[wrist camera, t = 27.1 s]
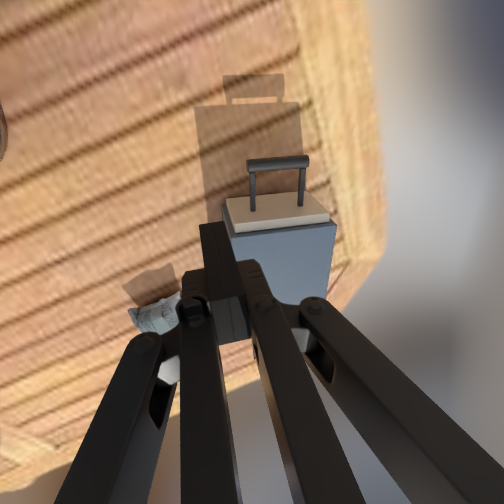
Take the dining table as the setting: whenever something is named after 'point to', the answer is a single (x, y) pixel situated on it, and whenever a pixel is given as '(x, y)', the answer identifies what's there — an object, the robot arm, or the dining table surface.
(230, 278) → the robot arm
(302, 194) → the drawer
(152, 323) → the packaged food
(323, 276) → the cabinet
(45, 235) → the dining table surface
